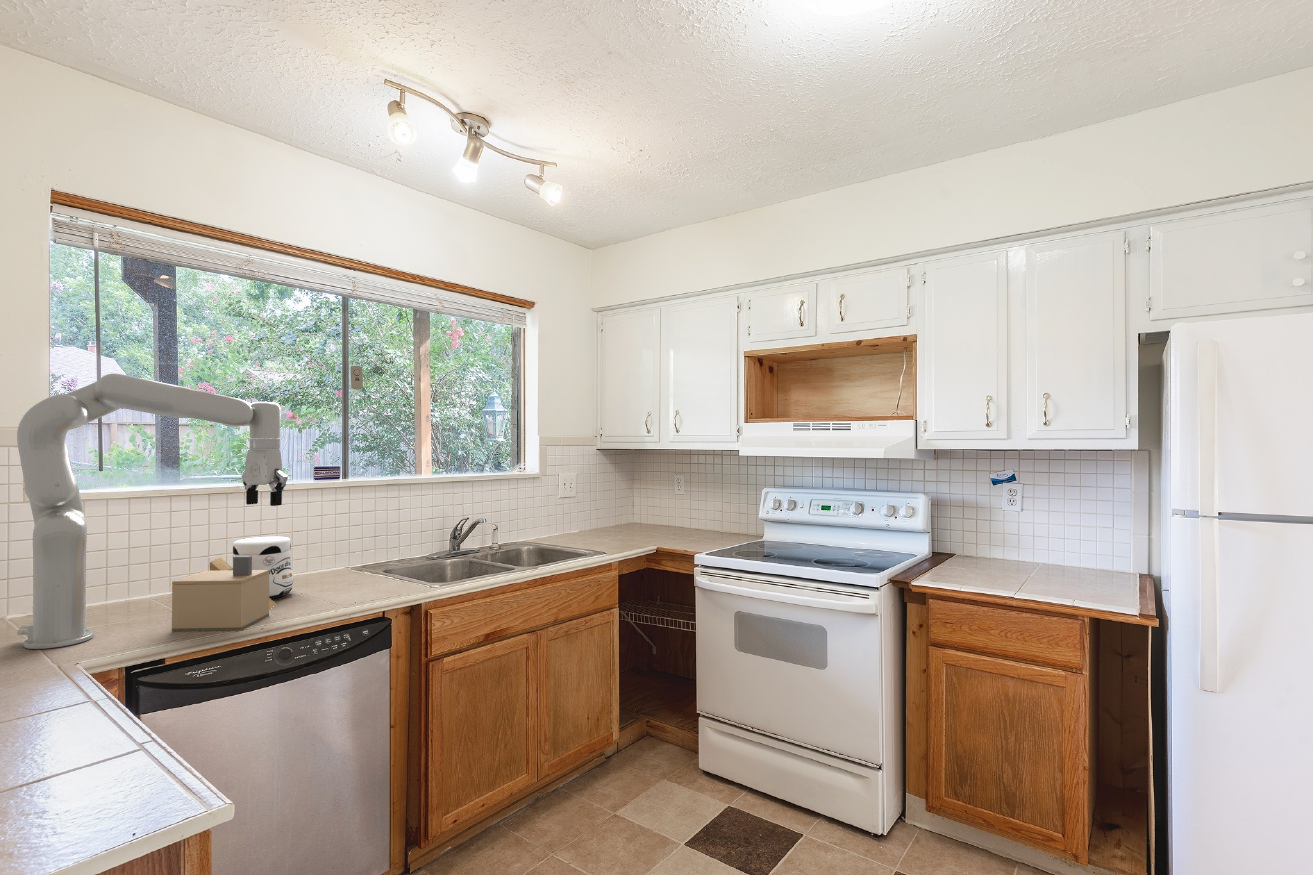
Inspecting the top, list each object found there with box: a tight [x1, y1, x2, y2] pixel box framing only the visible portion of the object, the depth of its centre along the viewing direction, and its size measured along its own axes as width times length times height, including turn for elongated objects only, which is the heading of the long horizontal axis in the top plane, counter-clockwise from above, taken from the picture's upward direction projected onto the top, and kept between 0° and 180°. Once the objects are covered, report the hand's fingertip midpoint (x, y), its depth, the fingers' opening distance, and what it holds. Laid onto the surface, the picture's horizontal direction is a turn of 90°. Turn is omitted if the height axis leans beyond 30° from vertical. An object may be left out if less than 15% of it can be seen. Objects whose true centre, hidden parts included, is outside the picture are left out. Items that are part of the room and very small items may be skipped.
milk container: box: [232, 536, 295, 600], centre depth 205 cm, size 17×17×18 cm
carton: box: [171, 573, 270, 633], centre depth 175 cm, size 17×14×12 cm
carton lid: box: [171, 556, 269, 585], centre depth 175 cm, size 17×14×6 cm
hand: (263, 504), depth 187 cm, fingers open, 9 cm apart
